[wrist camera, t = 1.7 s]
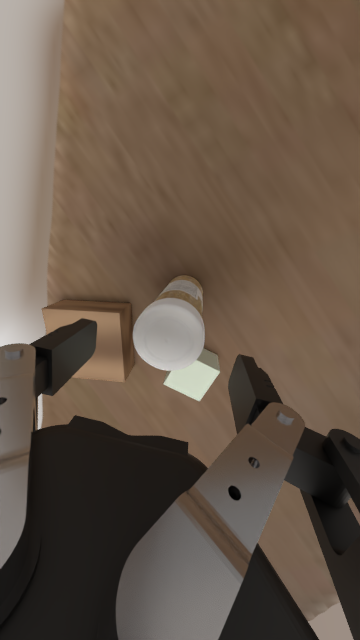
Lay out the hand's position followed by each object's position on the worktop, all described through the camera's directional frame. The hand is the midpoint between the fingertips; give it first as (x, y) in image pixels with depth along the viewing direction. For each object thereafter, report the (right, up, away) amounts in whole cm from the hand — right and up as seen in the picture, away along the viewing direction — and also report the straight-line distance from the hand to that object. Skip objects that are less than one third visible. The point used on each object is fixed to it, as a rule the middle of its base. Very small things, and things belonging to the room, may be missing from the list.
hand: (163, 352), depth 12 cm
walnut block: (-10, 0, +17) cm, 19 cm away
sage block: (+3, -4, +17) cm, 17 cm away
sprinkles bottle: (+1, +5, +14) cm, 15 cm away
